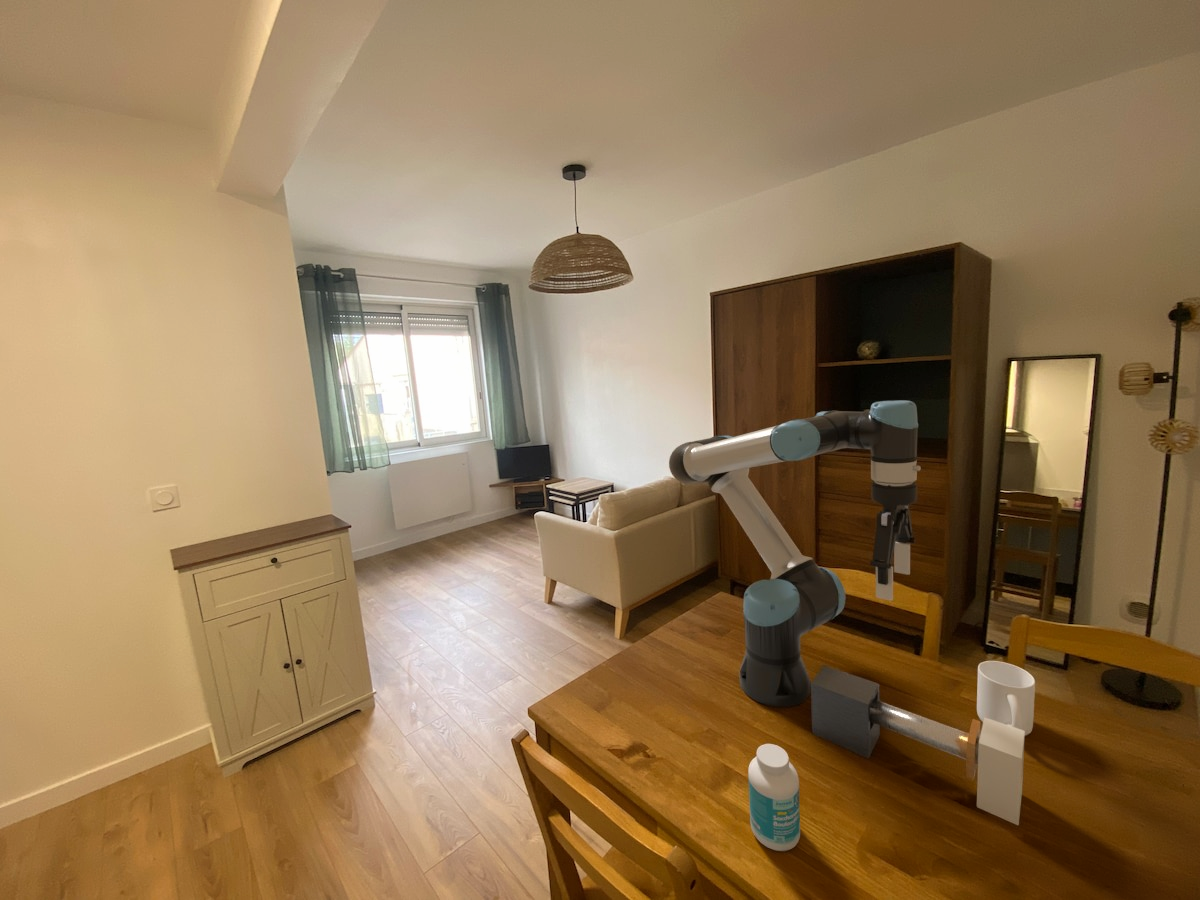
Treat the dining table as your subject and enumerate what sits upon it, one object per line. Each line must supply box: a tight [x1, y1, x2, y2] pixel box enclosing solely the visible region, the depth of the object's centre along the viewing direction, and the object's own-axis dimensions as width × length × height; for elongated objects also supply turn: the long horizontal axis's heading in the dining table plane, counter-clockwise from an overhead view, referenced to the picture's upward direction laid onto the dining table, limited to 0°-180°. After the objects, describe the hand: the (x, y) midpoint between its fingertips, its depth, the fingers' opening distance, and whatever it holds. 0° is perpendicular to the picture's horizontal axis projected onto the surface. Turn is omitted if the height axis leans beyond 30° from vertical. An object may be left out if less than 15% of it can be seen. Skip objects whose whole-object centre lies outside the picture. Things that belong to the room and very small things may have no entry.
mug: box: [976, 660, 1036, 736], centre depth 89 cm, size 12×8×10 cm
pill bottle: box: [747, 743, 801, 852], centre depth 74 cm, size 8×7×14 cm
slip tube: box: [870, 699, 981, 781], centre depth 82 cm, size 20×6×6 cm, turn 46°
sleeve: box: [810, 665, 880, 759], centre depth 91 cm, size 10×7×11 cm
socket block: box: [976, 717, 1026, 826], centre depth 75 cm, size 5×7×12 cm
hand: (893, 585), depth 94 cm, fingers open, 13 cm apart
